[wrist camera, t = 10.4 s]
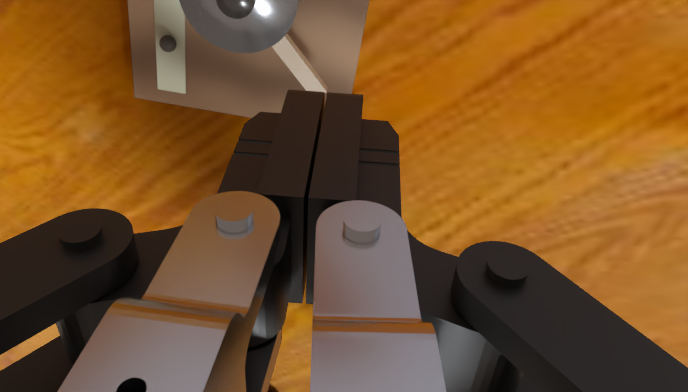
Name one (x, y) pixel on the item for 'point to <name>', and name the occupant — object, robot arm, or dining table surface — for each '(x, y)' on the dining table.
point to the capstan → (253, 31)
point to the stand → (239, 58)
